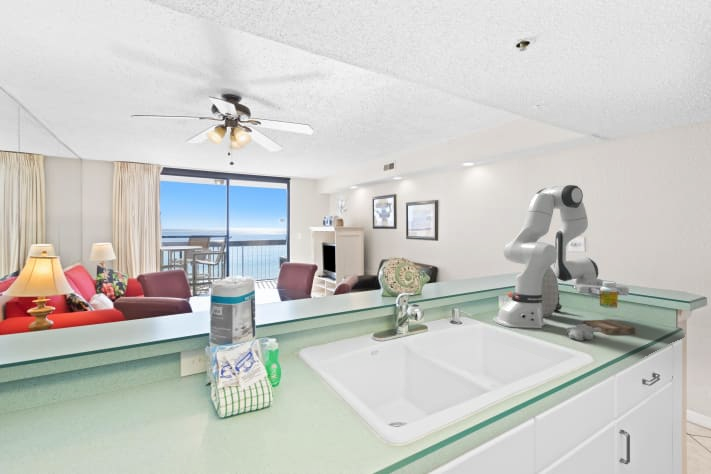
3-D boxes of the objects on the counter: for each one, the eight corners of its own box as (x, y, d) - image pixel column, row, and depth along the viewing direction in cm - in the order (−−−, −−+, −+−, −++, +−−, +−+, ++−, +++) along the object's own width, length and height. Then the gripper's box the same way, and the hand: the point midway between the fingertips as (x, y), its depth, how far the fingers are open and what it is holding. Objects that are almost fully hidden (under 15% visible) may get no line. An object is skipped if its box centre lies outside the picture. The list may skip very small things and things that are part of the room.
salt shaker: (558, 310, 180) (559, 288, 179) (564, 313, 174) (564, 291, 173) (547, 310, 180) (547, 288, 180) (552, 312, 174) (553, 290, 174)
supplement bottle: (601, 307, 145) (602, 282, 145) (598, 304, 151) (599, 280, 150) (619, 309, 142) (619, 283, 142) (615, 306, 148) (616, 281, 147)
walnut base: (605, 334, 140) (605, 328, 140) (583, 325, 152) (583, 320, 152) (635, 333, 141) (635, 327, 141) (611, 325, 153) (611, 319, 153)
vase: (532, 317, 165) (533, 262, 164) (527, 311, 177) (528, 260, 176) (561, 319, 161) (562, 263, 160) (553, 313, 173) (554, 260, 172)
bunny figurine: (561, 327, 136) (580, 318, 143) (561, 339, 136) (580, 330, 144) (586, 334, 128) (605, 324, 135) (587, 346, 128) (605, 336, 135)
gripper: (570, 280, 160) (584, 284, 147) (618, 281, 156) (636, 286, 143) (570, 292, 161) (584, 298, 147) (617, 294, 157) (636, 301, 143)
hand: (610, 292), depth 145 cm, fingers closed on supplement bottle, 6 cm apart
